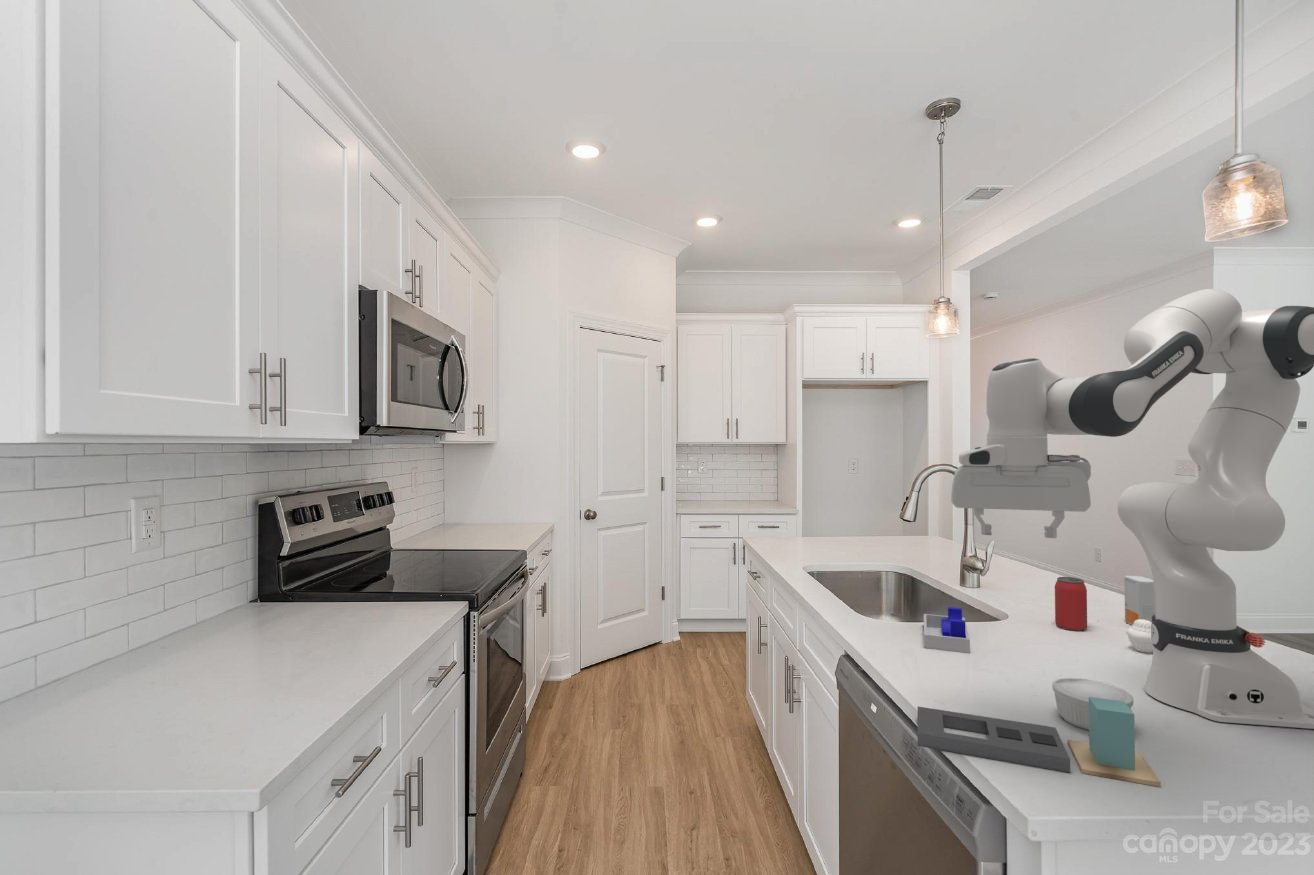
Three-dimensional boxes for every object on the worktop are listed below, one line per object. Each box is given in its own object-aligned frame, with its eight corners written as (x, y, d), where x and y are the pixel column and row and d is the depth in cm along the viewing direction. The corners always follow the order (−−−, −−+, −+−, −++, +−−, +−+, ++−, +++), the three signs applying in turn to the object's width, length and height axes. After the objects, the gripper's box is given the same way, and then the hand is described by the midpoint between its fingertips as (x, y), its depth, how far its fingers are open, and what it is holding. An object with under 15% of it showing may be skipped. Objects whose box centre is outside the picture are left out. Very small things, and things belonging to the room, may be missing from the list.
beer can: (1093, 631, 146) (1093, 582, 146) (1066, 631, 146) (1065, 582, 146) (1075, 623, 153) (1074, 576, 153) (1049, 623, 153) (1048, 576, 153)
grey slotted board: (1055, 740, 95) (1055, 726, 95) (1070, 772, 86) (1069, 758, 86) (917, 718, 103) (917, 705, 103) (917, 745, 94) (917, 732, 94)
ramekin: (1083, 702, 109) (1082, 672, 109) (1151, 730, 98) (1150, 698, 98) (1037, 712, 105) (1036, 681, 105) (1102, 742, 94) (1102, 709, 94)
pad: (1138, 754, 90) (1138, 750, 90) (1160, 787, 82) (1160, 782, 82) (1067, 743, 94) (1067, 739, 94) (1081, 773, 86) (1081, 768, 86)
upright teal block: (1125, 755, 89) (1124, 701, 89) (1135, 770, 85) (1134, 714, 85) (1089, 749, 91) (1088, 696, 91) (1097, 764, 87) (1096, 709, 87)
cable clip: (941, 630, 149) (941, 606, 149) (961, 632, 148) (961, 608, 148) (943, 646, 138) (943, 620, 138) (965, 648, 136) (965, 622, 136)
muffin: (1162, 649, 134) (1161, 618, 134) (1162, 657, 129) (1161, 625, 129) (1126, 643, 138) (1126, 613, 138) (1125, 651, 133) (1125, 619, 133)
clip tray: (964, 629, 149) (964, 617, 149) (969, 653, 133) (969, 639, 133) (923, 625, 153) (923, 613, 153) (924, 647, 137) (924, 634, 137)
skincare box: (1123, 622, 153) (1123, 575, 153) (1142, 623, 152) (1141, 575, 152) (1139, 630, 147) (1139, 581, 147) (1159, 630, 146) (1158, 581, 146)
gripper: (1085, 454, 101) (1086, 536, 101) (950, 454, 109) (951, 530, 109) (1095, 455, 95) (1096, 542, 95) (951, 455, 103) (952, 535, 103)
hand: (1017, 536), depth 102 cm, fingers open, 8 cm apart
